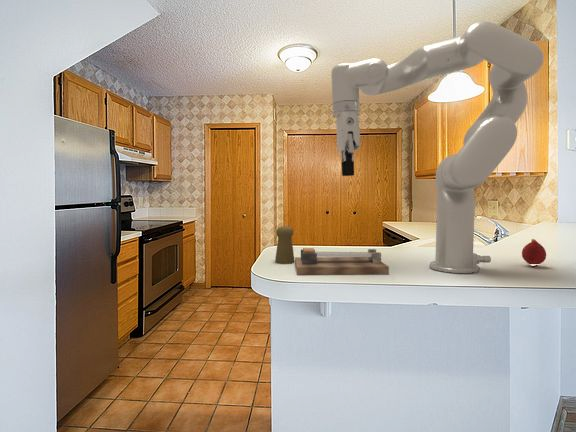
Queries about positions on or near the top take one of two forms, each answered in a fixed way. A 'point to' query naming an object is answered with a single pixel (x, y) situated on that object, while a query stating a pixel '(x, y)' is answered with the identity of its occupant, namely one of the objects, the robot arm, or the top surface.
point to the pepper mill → (284, 246)
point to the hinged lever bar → (338, 253)
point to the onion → (534, 253)
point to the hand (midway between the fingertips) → (348, 175)
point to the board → (340, 265)
